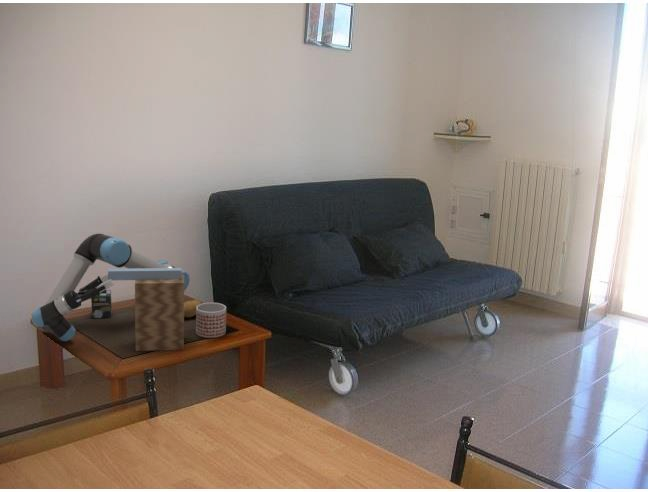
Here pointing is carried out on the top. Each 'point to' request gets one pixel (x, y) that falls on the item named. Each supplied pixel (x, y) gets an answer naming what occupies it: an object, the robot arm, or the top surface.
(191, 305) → the potato
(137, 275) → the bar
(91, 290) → the robot arm
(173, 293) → the stand
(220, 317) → the planter
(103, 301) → the chalk box
